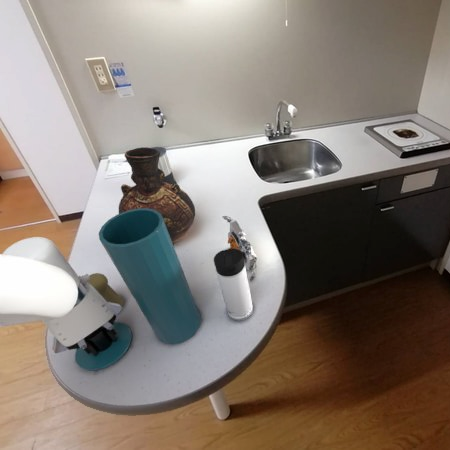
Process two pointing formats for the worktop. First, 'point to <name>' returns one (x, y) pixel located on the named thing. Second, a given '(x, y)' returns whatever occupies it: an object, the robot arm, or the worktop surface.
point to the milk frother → (164, 166)
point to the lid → (104, 348)
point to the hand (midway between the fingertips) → (103, 343)
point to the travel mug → (234, 283)
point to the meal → (241, 244)
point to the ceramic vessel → (156, 193)
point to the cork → (105, 289)
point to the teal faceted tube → (152, 272)
